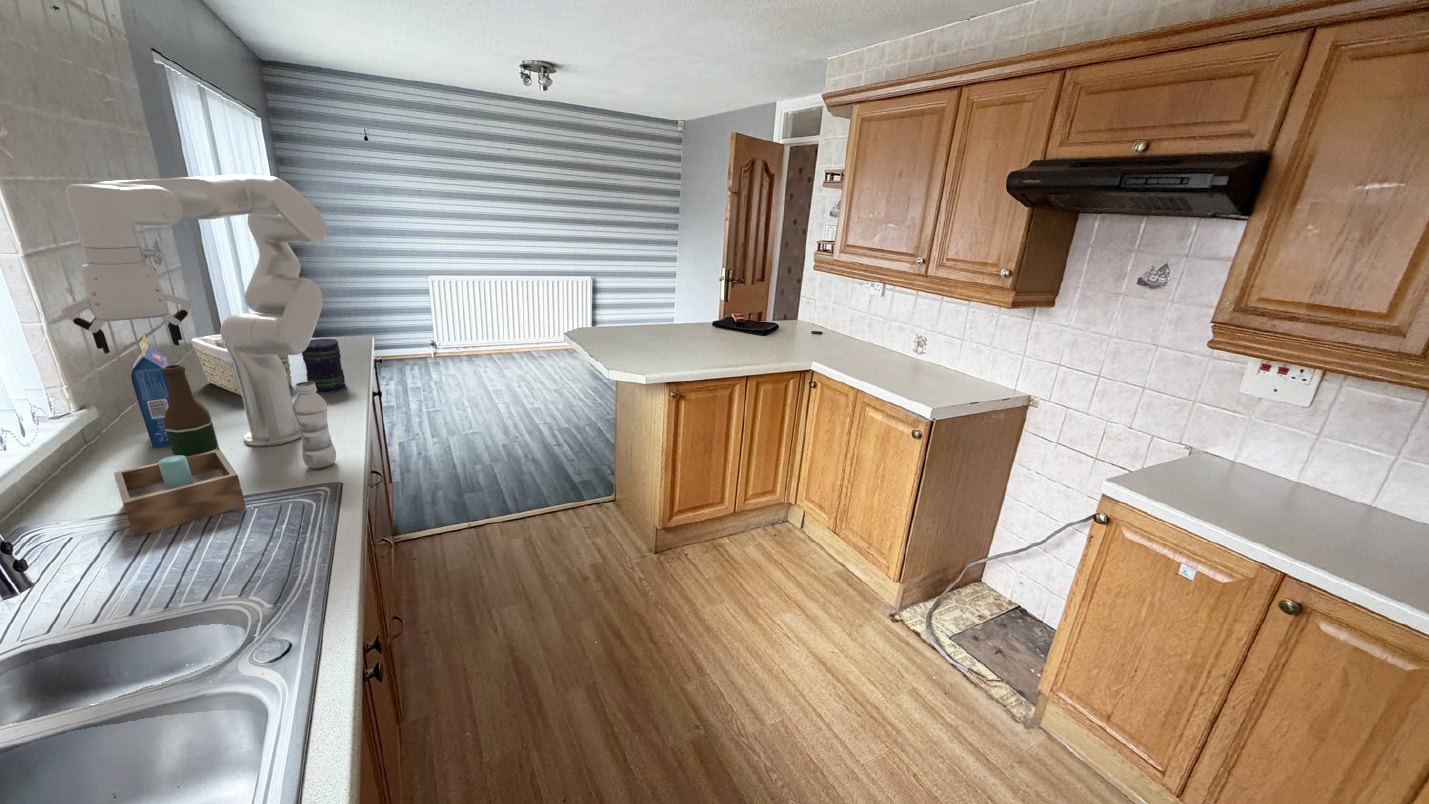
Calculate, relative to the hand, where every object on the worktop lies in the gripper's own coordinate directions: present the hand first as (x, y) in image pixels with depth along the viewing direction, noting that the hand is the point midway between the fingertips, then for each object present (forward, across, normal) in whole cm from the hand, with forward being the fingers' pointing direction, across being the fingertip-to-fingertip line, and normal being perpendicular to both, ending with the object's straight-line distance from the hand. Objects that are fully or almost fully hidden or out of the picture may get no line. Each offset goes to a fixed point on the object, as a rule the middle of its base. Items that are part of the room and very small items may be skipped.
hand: (142, 347), depth 108 cm
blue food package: (+31, -2, -33) cm, 45 cm away
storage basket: (+31, -25, -69) cm, 80 cm away
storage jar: (+31, -41, -51) cm, 72 cm away
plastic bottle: (+31, -23, +7) cm, 39 cm away
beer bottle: (+31, -4, -8) cm, 32 cm away
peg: (+30, +1, +9) cm, 32 cm away
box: (+30, +1, +9) cm, 32 cm away
